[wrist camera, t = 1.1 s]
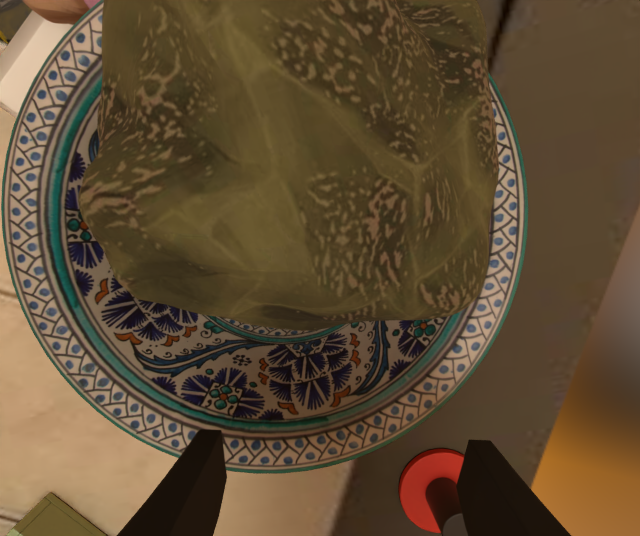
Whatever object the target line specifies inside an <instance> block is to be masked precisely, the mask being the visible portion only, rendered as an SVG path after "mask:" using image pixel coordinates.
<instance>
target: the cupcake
mask: <svg viewBox="0 0 640 536" xmlns="http://www.w3.org/2000/svg"><path fill="white" fill-rule="evenodd" d="M22 1H23V2H24V3H25V4H26V5H27V6H28V7H29V8H31V9H32V10H33V11H34V12H36V13H37V14H39V15H40V16H41V17H43V18H44V19H46V20H48V21H50V22H52V23H58V24H72V25H74V24H75V23H76V22H77V21H78V20H79V19H80V18H81V17H82V16H83V15H84V14H85V13H86V12H88V11H89V10H90V9H91V8H92V7H93V6H95V5H96V4H97V3H98V2H99V1H100V0H22Z"/></svg>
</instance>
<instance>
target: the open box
mask: <svg viewBox="0 0 640 536" xmlns="http://www.w3.org/2000/svg"><path fill="white" fill-rule="evenodd" d="M6 536H106V535H105V534H104V533H103V532H101V531H100V530H99V529H97V528H96V527H95V526H93V525H92V524H91V523H90V522H88V521H87V520H86V519H84V518H83V517H82V516H81V515H79V514H78V513H77V512H75V511H74V510H73V509H71V508H70V507H69V506H68V505H66V504H65V503H64V502H62V501H61V500H60V499H58V498H57V497H56V496H55V495H53V494H52V493H49V494H48V495H47V496H46V497H45V498H44V499H43V500H42V501H41V502H40V503H39V504H38V505H36V506H35V507H34V508H33V509H32V510H31V511H30V512H29V513H28V514H27V515H26V516H25V517H24V518H23V519H22V520H21V521H20V522H18V523H17V524H16V525H15V526H14V527H13V528H12V529H11V531H10V532H9V533H8V534H7V535H6Z"/></svg>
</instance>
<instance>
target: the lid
mask: <svg viewBox="0 0 640 536" xmlns="http://www.w3.org/2000/svg"><path fill="white" fill-rule="evenodd" d="M463 460H464V455H462V454H460V453H458V452H456V451H453V450H449V449H433V450H429V451H426V452H423V453H421V454H420V455H418V456H416V457H415V458H414V459H413V460H412V461H410V462H409V464H408V465H407V466H406V468H405V469H404V471H403V473H402V475H401V478H400V482H399V498H400V501H401V504H402V507H403V509H404V512H405V513H406V515H407V516H408V518H409V519H410V520H411V521H412V522H413V523H414V524H416V525H417V526H418V527H420V528H422V529H424V530H427V531H430V532H436V533H441V534H442V536H468V534H467V530H466V527H465V524H464V519H463V515H462V511H461V507H460V502H459V498H458V493H457V489H456V485H457V481H458V478H459V474H460V471H461V467H462V463H463Z"/></svg>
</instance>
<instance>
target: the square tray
mask: <svg viewBox="0 0 640 536" xmlns="http://www.w3.org/2000/svg"><path fill="white" fill-rule="evenodd" d="M72 26H73V25H72V24H58V23H52V22H50V21H48V20H46V19H44V18H43V17H41V16H40V15H39V14H37V13H36V12H34V11H33V10H32V11H31V13H30V14H29V16H28V17H27V19H26V20H25V21H24V23H23V24H22V26H21V27H20V28H19V30H18V31H17V33H16V34H15V35H14V37H13V38H12V40H11V41H10V42H9V44H8V45H7V47H6V48H5V49H4V51H3V52H2V54H1V55H0V107H2V108H3V109H5V110H6V111H7V112H9V113H10V114H11V115H13V116H14V117H15V118H17V116H18V113H19V110H20V108H21V105H22V103H23V100H24V98H25V96H26V94H27V92H28V90H29V88H30V86H31V84H32V82H33V80H34V78H35V76H36V75H37V73H38V72H39V70H40V68H41V67H42V65H43V63H44V62H45V60H46V58H47V57H48V56H49V54H50V53H51V52H52V50H53V49H54V48H55V46H56V45H57V44H58V42H59V41H60V40H61V39H62V37H63V36H64V35H65V34H66V33H67V32H68V31H69V30H70V28H71V27H72Z"/></svg>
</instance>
